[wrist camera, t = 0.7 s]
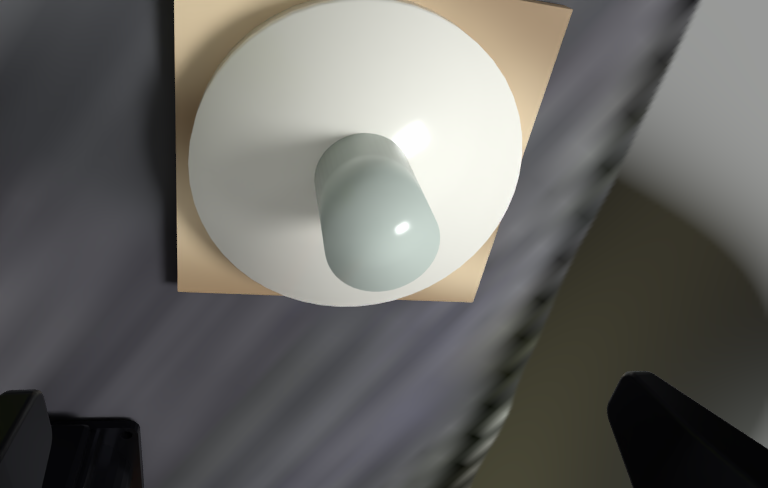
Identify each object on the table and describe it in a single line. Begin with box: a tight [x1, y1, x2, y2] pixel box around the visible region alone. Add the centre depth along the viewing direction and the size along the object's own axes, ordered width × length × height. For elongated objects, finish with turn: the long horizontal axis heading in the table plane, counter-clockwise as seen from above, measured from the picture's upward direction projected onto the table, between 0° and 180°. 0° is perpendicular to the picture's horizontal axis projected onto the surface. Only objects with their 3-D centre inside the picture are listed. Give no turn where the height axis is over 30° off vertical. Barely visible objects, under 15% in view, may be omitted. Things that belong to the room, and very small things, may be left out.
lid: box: [188, 0, 522, 307], centre depth 18 cm, size 11×11×5 cm
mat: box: [174, 0, 573, 302], centre depth 20 cm, size 12×12×1 cm
